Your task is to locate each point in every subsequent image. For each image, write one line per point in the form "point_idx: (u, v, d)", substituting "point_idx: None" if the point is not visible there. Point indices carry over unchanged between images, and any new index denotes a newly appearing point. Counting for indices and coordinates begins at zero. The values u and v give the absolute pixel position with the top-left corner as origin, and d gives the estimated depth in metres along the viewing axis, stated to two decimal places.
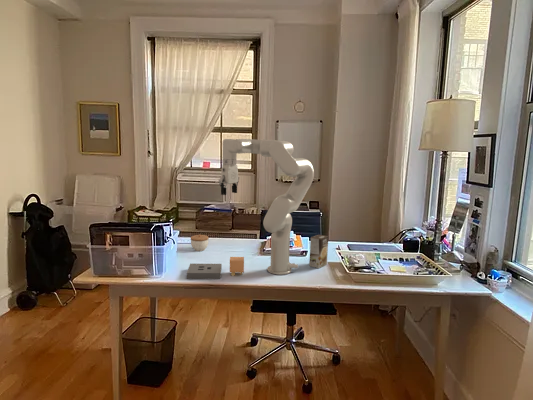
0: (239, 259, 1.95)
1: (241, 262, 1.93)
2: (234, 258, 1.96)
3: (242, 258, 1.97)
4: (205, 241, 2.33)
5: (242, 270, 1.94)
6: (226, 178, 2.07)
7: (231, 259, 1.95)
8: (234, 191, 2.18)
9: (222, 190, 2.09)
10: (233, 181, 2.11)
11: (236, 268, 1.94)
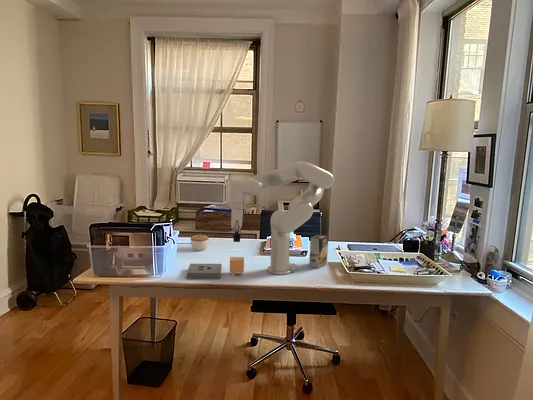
0: (239, 259, 1.95)
1: (241, 262, 1.93)
2: (234, 258, 1.96)
3: (242, 258, 1.97)
4: (205, 241, 2.33)
5: (242, 270, 1.94)
6: None
7: (231, 259, 1.95)
8: None
9: None
10: None
11: (236, 268, 1.94)
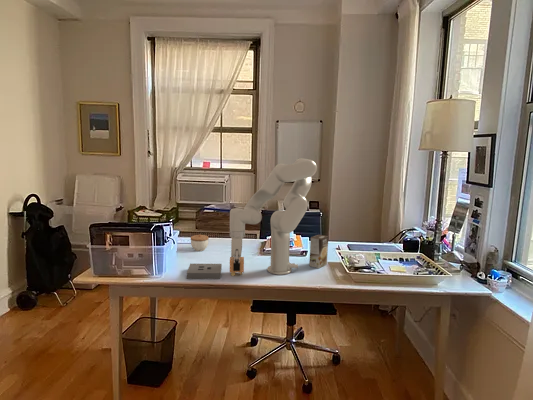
0: None
1: (241, 262, 1.93)
2: None
3: (242, 258, 1.97)
4: (205, 241, 2.33)
5: (242, 270, 1.94)
6: None
7: (231, 259, 1.95)
8: None
9: None
10: None
11: None
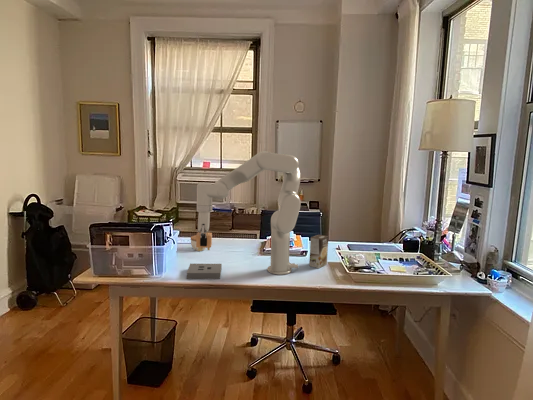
0: None
1: (208, 237, 1.90)
2: None
3: (209, 233, 1.94)
4: None
5: (209, 245, 1.91)
6: None
7: (198, 234, 1.92)
8: None
9: None
10: None
11: None
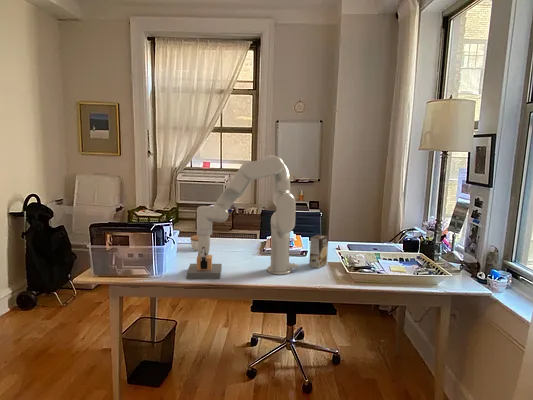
0: None
1: (208, 259, 1.92)
2: None
3: (210, 256, 1.96)
4: None
5: (209, 268, 1.93)
6: None
7: (198, 257, 1.94)
8: None
9: None
10: None
11: None
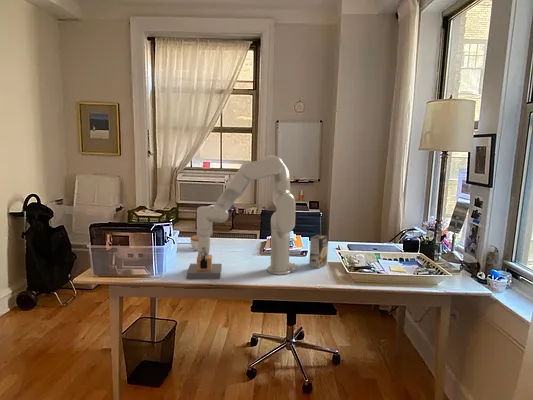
0: None
1: (208, 259, 1.92)
2: None
3: (210, 256, 1.96)
4: None
5: (209, 268, 1.93)
6: None
7: (198, 257, 1.94)
8: None
9: None
10: None
11: None
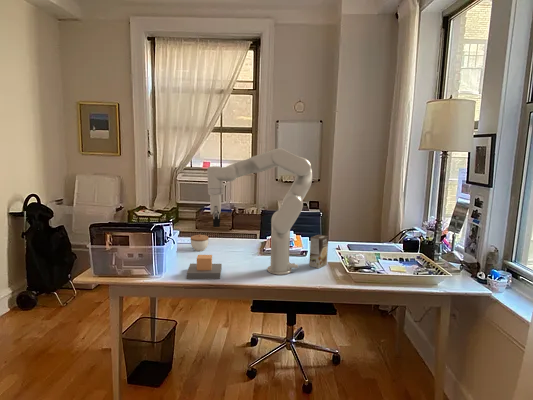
0: (206, 257, 1.94)
1: (208, 259, 1.92)
2: (202, 256, 1.95)
3: (210, 256, 1.96)
4: (205, 241, 2.33)
5: (209, 268, 1.93)
6: None
7: (198, 257, 1.94)
8: None
9: None
10: None
11: (203, 266, 1.93)
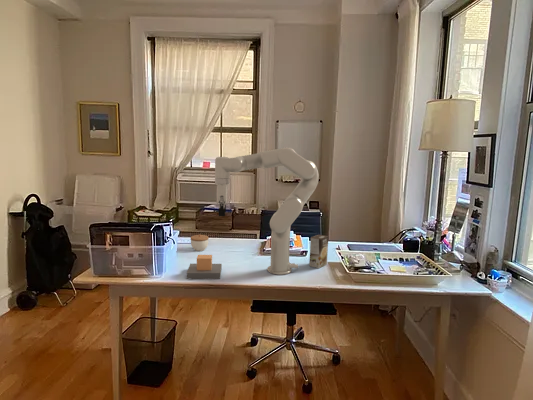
0: (206, 257, 1.94)
1: (208, 259, 1.92)
2: (202, 256, 1.95)
3: (210, 256, 1.96)
4: (205, 241, 2.33)
5: (209, 268, 1.93)
6: None
7: (198, 257, 1.94)
8: None
9: None
10: None
11: (203, 266, 1.93)
